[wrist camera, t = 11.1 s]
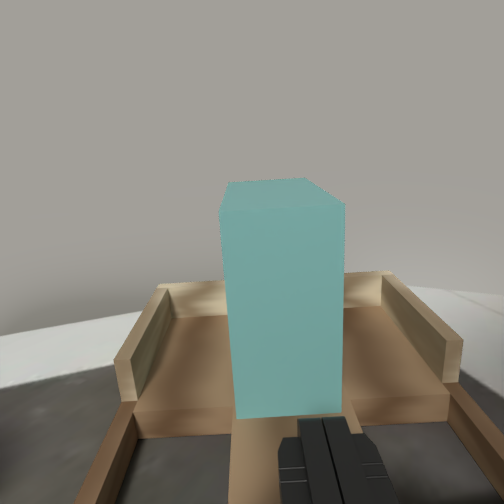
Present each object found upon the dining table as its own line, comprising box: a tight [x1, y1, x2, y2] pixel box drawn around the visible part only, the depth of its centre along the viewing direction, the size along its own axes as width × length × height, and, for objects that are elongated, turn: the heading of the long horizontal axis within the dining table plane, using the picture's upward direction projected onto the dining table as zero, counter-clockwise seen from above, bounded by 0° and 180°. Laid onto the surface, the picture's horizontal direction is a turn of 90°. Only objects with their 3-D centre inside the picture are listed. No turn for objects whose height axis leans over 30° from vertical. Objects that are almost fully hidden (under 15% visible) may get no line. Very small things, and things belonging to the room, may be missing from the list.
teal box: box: [219, 178, 345, 419], centre depth 25 cm, size 6×12×12 cm, turn 1°
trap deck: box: [74, 271, 504, 504], centre depth 18 cm, size 21×34×5 cm, turn 1°
